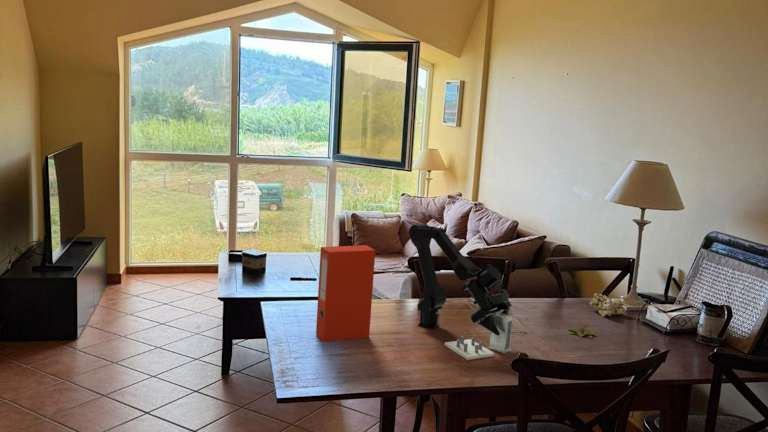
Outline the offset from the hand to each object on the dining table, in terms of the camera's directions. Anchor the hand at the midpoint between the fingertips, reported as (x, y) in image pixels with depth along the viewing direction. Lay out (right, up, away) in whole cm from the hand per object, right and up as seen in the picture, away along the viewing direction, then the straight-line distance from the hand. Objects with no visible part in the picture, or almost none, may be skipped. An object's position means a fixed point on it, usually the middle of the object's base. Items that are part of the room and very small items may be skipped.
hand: (504, 332), depth 232 cm
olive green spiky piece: (+35, -5, +26) cm, 44 cm away
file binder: (-57, -2, +5) cm, 57 cm away
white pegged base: (-12, -6, -1) cm, 14 cm away
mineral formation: (+53, -1, +55) cm, 76 cm away
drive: (-1, -6, +2) cm, 7 cm away
